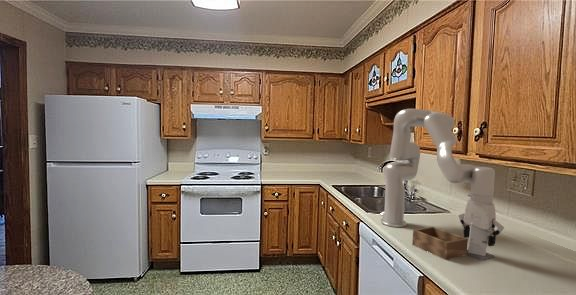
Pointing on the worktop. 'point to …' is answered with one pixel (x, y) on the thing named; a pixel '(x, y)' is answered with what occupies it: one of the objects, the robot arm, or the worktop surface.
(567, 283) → the worktop surface
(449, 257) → the crate
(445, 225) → the worktop surface
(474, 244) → the skincare box
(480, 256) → the mat
